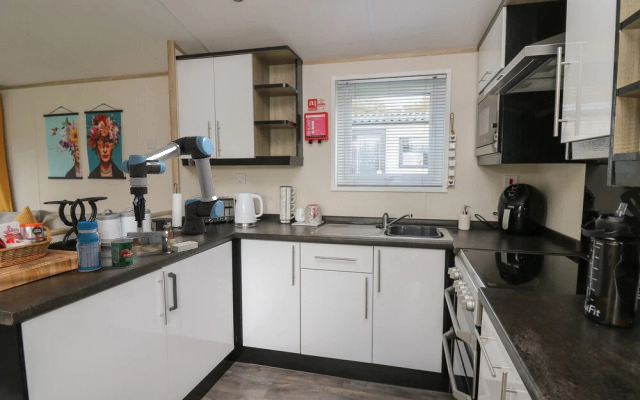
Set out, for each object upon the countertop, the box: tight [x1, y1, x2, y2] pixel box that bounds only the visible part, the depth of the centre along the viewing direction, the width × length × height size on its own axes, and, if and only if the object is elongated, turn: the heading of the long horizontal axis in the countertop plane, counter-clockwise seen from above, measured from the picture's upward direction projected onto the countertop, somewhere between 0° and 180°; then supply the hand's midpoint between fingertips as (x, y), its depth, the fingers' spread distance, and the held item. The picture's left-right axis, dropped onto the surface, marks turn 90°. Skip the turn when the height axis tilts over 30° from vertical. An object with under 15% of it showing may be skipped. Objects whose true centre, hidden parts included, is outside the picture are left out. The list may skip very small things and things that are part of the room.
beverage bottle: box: [75, 220, 102, 273], centre depth 134 cm, size 8×8×20 cm
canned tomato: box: [110, 238, 134, 269], centre depth 140 cm, size 8×8×11 cm
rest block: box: [170, 240, 199, 253], centre depth 171 cm, size 12×6×3 cm, turn 150°
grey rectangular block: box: [140, 237, 162, 245], centre depth 169 cm, size 10×8×4 cm
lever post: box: [158, 237, 173, 256], centre depth 162 cm, size 6×6×8 cm
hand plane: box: [132, 231, 177, 256], centre depth 169 cm, size 22×6×8 cm, turn 150°
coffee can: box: [150, 217, 172, 232], centre depth 185 cm, size 10×10×14 cm
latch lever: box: [126, 231, 168, 239], centre depth 160 cm, size 19×3×2 cm, turn 100°
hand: (140, 233), depth 161 cm, fingers closed
